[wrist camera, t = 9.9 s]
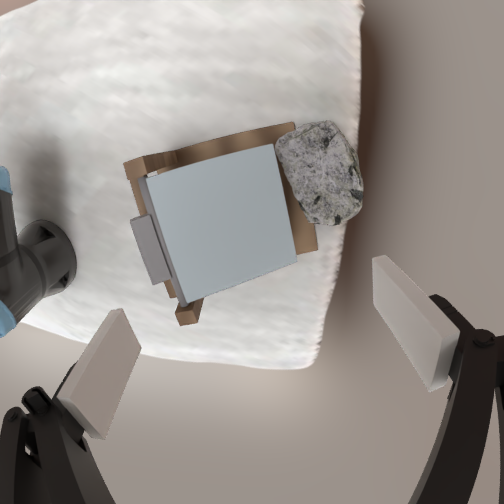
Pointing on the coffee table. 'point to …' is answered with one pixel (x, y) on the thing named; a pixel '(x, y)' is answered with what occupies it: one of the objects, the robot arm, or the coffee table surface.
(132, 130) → the coffee table surface
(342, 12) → the coffee table surface
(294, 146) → the rock
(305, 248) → the frame
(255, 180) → the trapdoor
